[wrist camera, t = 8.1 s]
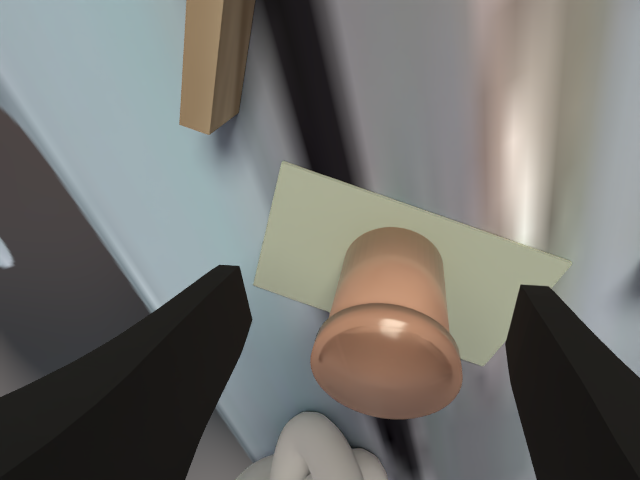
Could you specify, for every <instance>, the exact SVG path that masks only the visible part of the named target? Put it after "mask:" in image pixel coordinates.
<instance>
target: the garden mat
mask: <svg viewBox="0 0 640 480" xmlns="http://www.w3.org/2000/svg"><path fill="white" fill-rule="evenodd" d="M383 227H398V228H405V229H408V230H412V231H414V232H417V233H419V234H421V235H422V236H424V237H425V238H427V239H428V240H429V241H431V242H432V243H433V244H434V246H435V247H436V248H437V249H438V251H439V253H440V255H441V257H442V260H443V266H444V277H445V288H446V299H447V309H448V320H449V331H450V334H451V335H452V337H453V338H454V340H455V341H456V344H457V346H458V348H459V352H460V358H461V359H463V360H466V361H469V362H472V363H475V364H477V365H480V366H484V365H485V364H486V363H487V362H488V361H489V359H490V358H491V357H492V356H493V355H494V354H495V353H496V351H497V350H498V349H499V348H500V347H501V346H502V344H503V343H504V342H505V341H506V339H507V335H508V331H509V328H510V324H511V320H512V316H513V312H514V308H515V304H516V300H517V296H518V292H519V288H520V285H521V284H522V285H538V286H549V287H550V288H552V287H553V286H554V285H555V283H556V282H557V281H558V280H559V279H560V278H561V276H562V275H563V274H564V273H565V272H566V271H567V270H568V268H569V267H570V266H571V265H572V262H571V261H569V260H566V259H563V258H560V257H557V256H554V255H551V254H549V253H546V252H543V251H540V250H537V249H534V248H531V247H529V246H526V245H523V244H520V243H517V242H514V241H511V240H508V239H506V238H503V237H500V236H497V235H494V234H491V233H488V232H485V231H483V230H480V229H477V228H474V227H471V226H468V225H465V224H463V223H460V222H457V221H454V220H451V219H448V218H445V217H442V216H440V215H437V214H434V213H431V212H428V211H425V210H422V209H420V208H417V207H414V206H411V205H408V204H405V203H402V202H399V201H397V200H394V199H391V198H388V197H385V196H382V195H379V194H377V193H374V192H371V191H368V190H365V189H362V188H359V187H356V186H354V185H351V184H348V183H345V182H342V181H339V180H336V179H334V178H331V177H328V176H325V175H322V174H319V173H316V172H313V171H311V170H308V169H305V168H302V167H299V166H296V165H293V164H290V163H288V162H285V161H282V163H281V168H280V172H279V176H278V181H277V185H276V189H275V193H274V198H273V202H272V206H271V211H270V215H269V219H268V224H267V228H266V232H265V236H264V241H263V245H262V249H261V254H260V258H259V262H258V267H257V271H256V275H255V279H254V284H253V285H254V286H257V287H259V288H262V289H265V290H268V291H271V292H274V293H276V294H279V295H282V296H285V297H288V298H291V299H293V300H296V301H299V302H302V303H305V304H308V305H310V306H313V307H316V308H319V309H322V310H325V311H327V312H331V308H332V304H333V300H334V296H335V292H336V288H337V285H338V281H339V277H340V273H341V269H342V265H343V261H344V258H345V254H346V252H347V250H348V248H349V246H350V245H351V244H352V243H353V241H354V240H356V239H357V238H358V237H359V236H361V235H362V234H364V233H366V232H368V231H371V230H374V229H378V228H383Z"/></svg>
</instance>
